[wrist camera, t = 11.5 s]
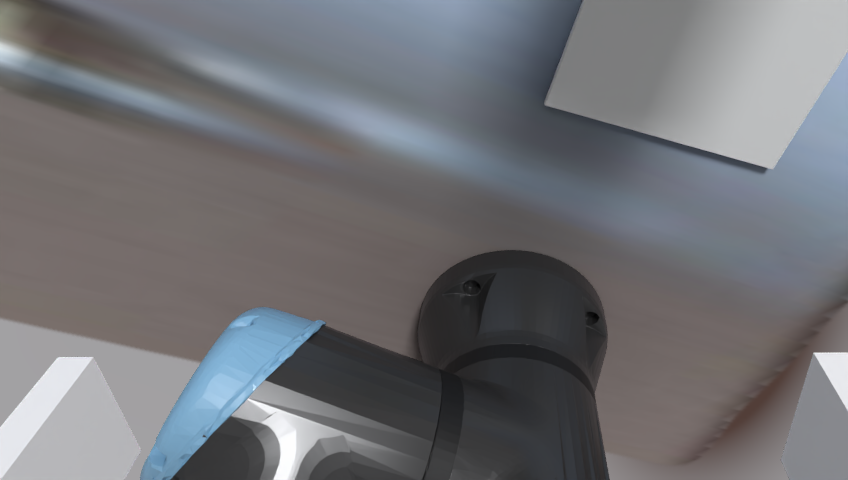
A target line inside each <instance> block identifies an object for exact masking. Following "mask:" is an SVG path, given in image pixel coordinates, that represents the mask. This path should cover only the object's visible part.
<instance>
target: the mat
mask: <svg viewBox="0 0 848 480" xmlns="http://www.w3.org/2000/svg"><path fill="white" fill-rule="evenodd" d="M847 52H848V0H583V1H582V3H581V6H580V9H579V11H578V14H577V17H576V19H575V22H574V25H573V27H572V30H571V32H570V35H569V38H568V40H567V43H566V46H565V48H564V51H563V54H562V56H561V59H560V61H559V64H558V67H557V69H556V72H555V75H554V77H553V80H552V83H551V85H550V88H549V90H548V93H547V96H546V98H545V101H544V104H545V105H546V106H549V107H553V108H556V109H560V110H563V111H567V112H570V113H574V114H578V115H581V116H585V117H588V118H592V119H595V120H599V121H602V122H606V123H609V124H613V125H617V126H620V127H624V128H627V129H631V130H634V131H638V132H641V133H645V134H649V135H652V136H656V137H659V138H663V139H666V140H670V141H673V142H677V143H681V144H684V145H688V146H691V147H695V148H698V149H702V150H705V151H709V152H713V153H716V154H720V155H723V156H727V157H730V158H734V159H737V160H741V161H744V162H748V163H752V164H755V165H759V166H762V167H766V168H769V169H773V168H774V167H775V165H776V164H777V162H778V160H779V159H780V157H781V156H782V154H783V153H784V151H785V149H786V148H787V146H788V145H789V143H790V142H791V140H792V138H793V137H794V135H795V134H796V132H797V130H798V129H799V127H800V126H801V124H802V123H803V121H804V119H805V118H806V116H807V115H808V113H809V112H810V110H811V108H812V107H813V105H814V104H815V102H816V101H817V99H818V97H819V96H820V94H821V93H822V91H823V90H824V88H825V86H826V85H827V83H828V82H829V80H830V79H831V77H832V75H833V74H834V72H835V71H836V69H837V67H838V66H839V64H840V63H841V61H842V60H843V58H844V56H845V55H846V53H847Z"/></svg>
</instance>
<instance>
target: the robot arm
mask: <svg viewBox="0 0 848 480" xmlns="http://www.w3.org/2000/svg"><path fill="white" fill-rule="evenodd" d="M325 325H326V322H324V321H321V320H317V321H311V320H308V319H305V318H302V317H299V316H295V315H292V314H289V313H286V312H283V311H279V310H276V309H273V308H267V307H259V308H254V309H251V310H248V311H246V312H244V313H243V314H241V315H240V316H238V317H237V318H236V319H235V320H234V321H233V322H232V323H231V324H230V325H229V326H228V327H227V328H226V329H225V331H224V332H223V333H222V334H221V336H220V337H219V338H218V340H217V341H216V342H215V344H214V345H213V346H212V348H211V349H210V350H209V352H208V353H207V355H206V356H205V358H204V359H203V361H202V362H201V364H200V365H199V367H198V368H197V370H196V371H195V373H194V374H193V376H192V377H191V379H190V381H189V382H188V384H187V385H186V387H185V389H184V390H183V392H182V394H181V395H180V397H179V398H178V400H177V402H176V404H175V405H174V407H173V409H172V410H171V412H170V414H169V416H168V418H167V419H166V421H165V423H164V425H163V427H162V428H161V430H160V432H159V434H158V436H157V438H156V443H155V445H154V447H153V448H152V450H151V453H150V455H149V456H148V458H147V459H146V461H145V463H144V465H143V468H142V471H141V476H140V480H610V479H609V474H608V468H607V462H606V457H605V451H604V446H603V440H602V434H601V429H600V423H599V418H598V412H597V406H596V400H595V390H596V386H597V383H598V379H599V376H600V372H601V368H602V365H603V361H604V357H605V354H606V349H607V340H608V334H607V325H606V320H605V316H604V311H603V306H602V303H601V301H600V298H599V296H598V294H597V293H596V291H595V289H594V288H593V286H592V285H591V284H590V283H589V282H588V280H587V279H586V278H585V277H584V276H582V275H581V274H580V273H579V272H578V271H576V270H575V269H573V268H572V267H570V266H569V265H567V264H565V263H563V262H561V261H559V260H557V259H555V258H552V257H549V256H546V255H543V254H538V253H534V252H528V251H516V250H506V251H495V252H489V253H484V254H481V255H477V256H474V257H471V258H469V259H466V260H464V261H462V262H460V263H458V264H456V265H455V266H453V267H451V268H450V269H448V270H447V271H446V272H445V273H443V274H442V275H441V276H440V277H439V278H438V279H437V280H436V281H435V282H434V284H433V285H432V286H431V288H430V289H429V291H428V292H427V294H426V296H425V299H424V301H423V304H422V308H421V314H420V320H419V326H418V342H419V349H420V353H421V356H422V359H423V362H421V361H418V360H415V359H412V358H410V357H407V356H404V355H401V354H399V353H396V352H393V351H390V350H387V349H385V348H382V347H379V346H377V345H374V344H371V343H369V342H366V341H364V340H361V339H358V338H356V337H353V336H350V335H348V334H345V333H343V332H340V331H337V330H335V329H332V328H329V327H327V326H325ZM140 451H141V449H140V447H139V445H138V443H137V441H136V439H135V437H134V435H133V433H132V431H131V430H130V427H129V425H128V423H127V421H126V419H125V418H124V416H123V414H122V412H121V410H120V408H119V406H118V404H117V402H116V400H115V398H114V396H113V394H112V392H111V390H110V388H109V387H108V384H107V383H106V381H105V379H104V377H103V375H102V373H101V371H100V369H99V367H98V365H97V363H96V361H95V359H94V358H93V357H58V358H57V359H56V360H55V362H54V363H53V364H52V365H51V366H50V367H49V369H48V370H47V371H46V373H45V374H44V375H43V376H42V377H41V378H40V380H39V381H38V382H37V383H36V384H35V386H34V387H33V388H32V389H31V391H30V392H29V393H28V394H27V395H26V397H25V398H24V399H23V400H22V401H21V403H20V404H19V405H18V406H17V407H16V409H15V410H14V411H13V412H12V414H11V415H10V416H9V417H8V418H7V420H6V421H5V422H4V423H3V425H2V426H1V427H0V480H124V479H125V478H126V476H127V474H128V472H129V470H130V469H131V467H132V465H133V464H134V462H135V460H136V458H137V457H138V455H139V453H140ZM781 462H782V464H783V466H784V469H785V471H786V473H787V475H788V478H789V480H848V353H813V357H812V360H811V363H810V366H809V370H808V374H807V376H806V379H805V383H804V386H803V389H802V392H801V396H800V399H799V402H798V406H797V409H796V412H795V415H794V419H793V422H792V425H791V428H790V432H789V435H788V439H787V442H786V445H785V448H784V451H783V455H782V458H781Z"/></svg>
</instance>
